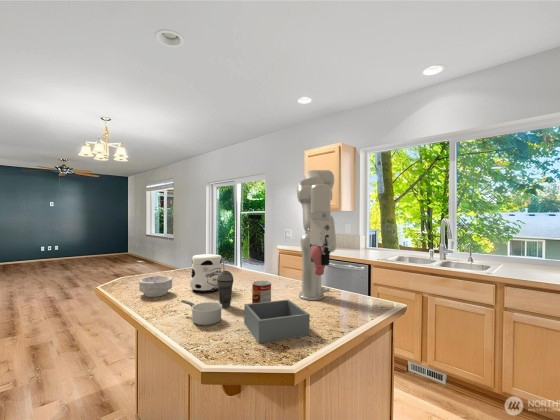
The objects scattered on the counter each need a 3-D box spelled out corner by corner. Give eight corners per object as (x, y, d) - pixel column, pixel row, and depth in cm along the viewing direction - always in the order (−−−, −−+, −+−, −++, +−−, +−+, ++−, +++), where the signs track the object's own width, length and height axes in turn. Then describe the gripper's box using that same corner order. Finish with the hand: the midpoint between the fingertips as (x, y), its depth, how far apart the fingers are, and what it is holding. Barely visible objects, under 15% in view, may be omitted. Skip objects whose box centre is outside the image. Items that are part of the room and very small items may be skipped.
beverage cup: (229, 309, 122) (230, 262, 122) (213, 308, 123) (214, 261, 124) (235, 304, 129) (236, 259, 129) (220, 303, 130) (221, 259, 131)
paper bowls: (160, 299, 134) (161, 283, 135) (131, 298, 137) (132, 281, 137) (177, 291, 149) (178, 276, 150) (151, 289, 152) (151, 274, 152)
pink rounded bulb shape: (331, 274, 111) (331, 243, 111) (326, 278, 104) (326, 245, 104) (313, 272, 114) (314, 242, 114) (307, 276, 107) (308, 244, 107)
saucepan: (192, 310, 121) (193, 296, 121) (228, 319, 110) (228, 305, 110) (169, 318, 111) (170, 303, 111) (206, 329, 101) (206, 313, 101)
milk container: (219, 294, 145) (219, 258, 145) (185, 294, 145) (185, 258, 145) (225, 285, 162) (226, 254, 162) (195, 285, 162) (196, 253, 162)
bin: (288, 317, 113) (288, 299, 113) (309, 335, 97) (309, 314, 97) (244, 323, 107) (244, 304, 107) (258, 343, 90) (258, 321, 90)
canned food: (262, 307, 125) (262, 279, 125) (274, 311, 120) (275, 283, 120) (248, 311, 120) (248, 282, 120) (260, 316, 114) (260, 286, 114)
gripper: (341, 217, 102) (341, 266, 102) (317, 216, 119) (317, 259, 118) (323, 217, 100) (322, 268, 99) (301, 216, 116) (301, 260, 116)
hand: (319, 262), depth 109 cm, fingers closed on pink rounded bulb shape, 7 cm apart
